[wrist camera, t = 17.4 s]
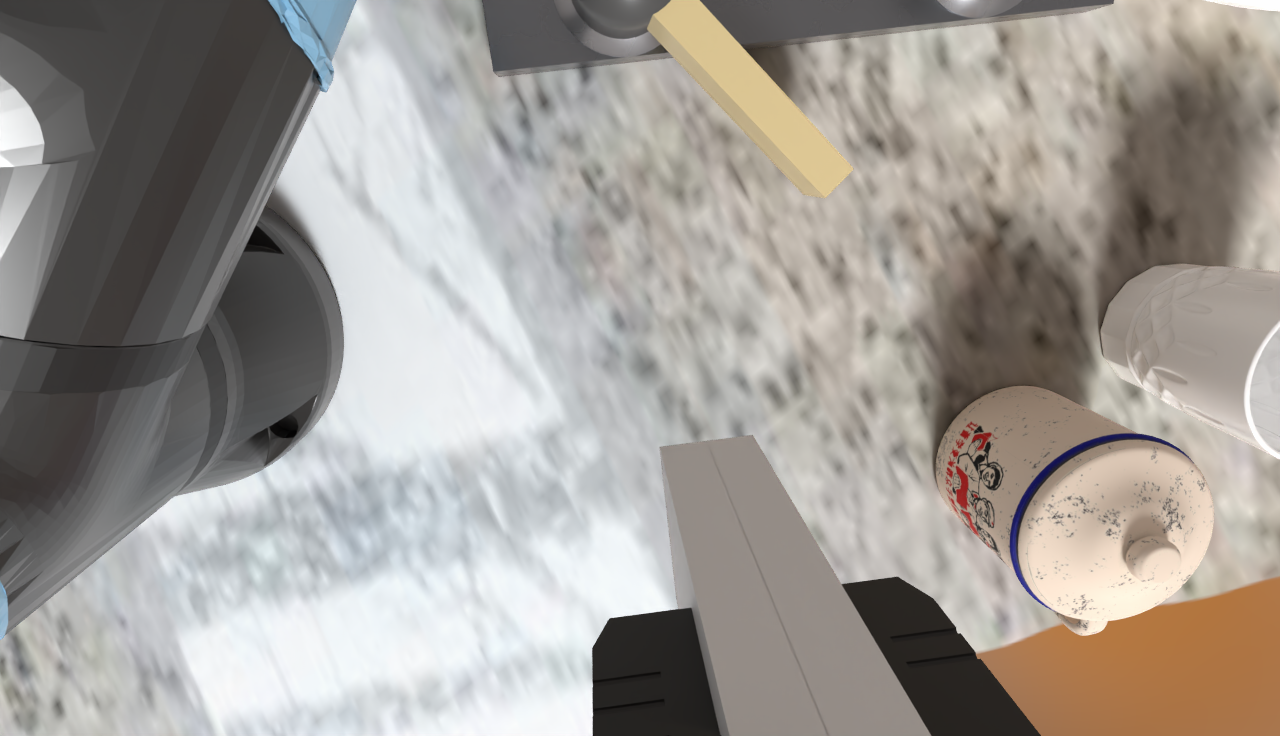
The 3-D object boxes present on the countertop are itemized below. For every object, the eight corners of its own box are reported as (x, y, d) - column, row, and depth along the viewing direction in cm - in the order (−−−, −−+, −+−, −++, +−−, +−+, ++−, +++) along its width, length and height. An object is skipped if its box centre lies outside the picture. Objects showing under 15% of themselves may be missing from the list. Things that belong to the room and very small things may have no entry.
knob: (544, -19, 32) (537, -49, 27) (619, -106, 31) (624, -152, 26) (773, 217, 35) (801, 226, 30) (845, 143, 34) (884, 140, 30)
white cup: (1204, 223, 39) (1407, 244, 29) (1248, 349, 41) (1452, 407, 31) (1066, 300, 39) (1220, 345, 30) (1117, 420, 41) (1276, 499, 32)
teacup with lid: (918, 401, 40) (1045, 493, 29) (1082, 361, 40) (1271, 438, 29) (944, 590, 44) (1066, 738, 32) (1095, 553, 44) (1270, 689, 32)
